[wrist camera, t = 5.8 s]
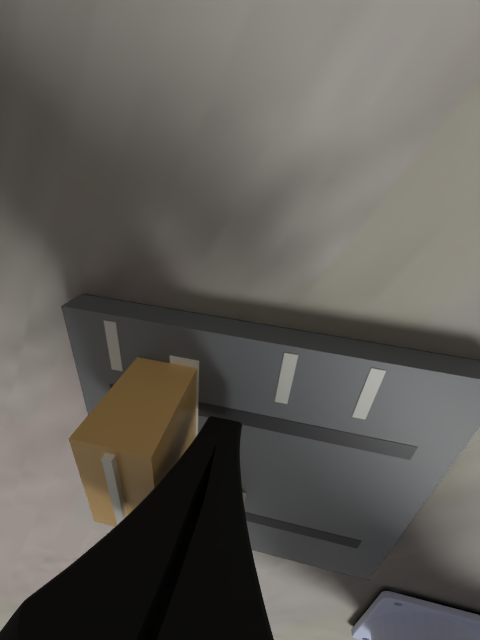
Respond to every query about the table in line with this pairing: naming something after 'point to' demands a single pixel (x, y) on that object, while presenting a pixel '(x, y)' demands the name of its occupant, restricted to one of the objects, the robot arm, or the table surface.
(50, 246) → the table surface
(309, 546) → the mixing board
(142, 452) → the amber fader knob
